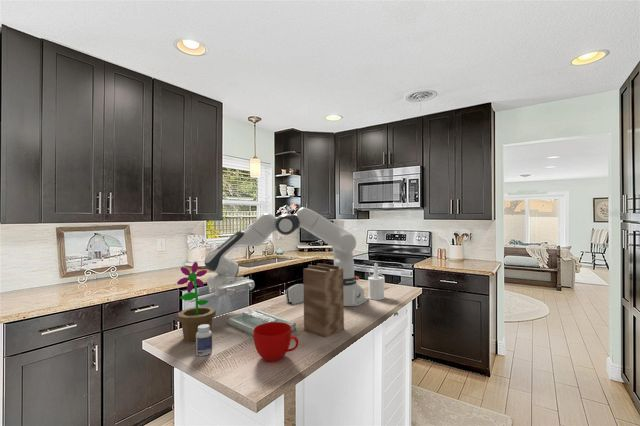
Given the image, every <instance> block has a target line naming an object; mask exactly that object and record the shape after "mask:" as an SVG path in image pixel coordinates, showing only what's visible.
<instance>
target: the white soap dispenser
mask: <svg viewBox="0 0 640 426" xmlns="http://www.w3.org/2000/svg"><path fill="white" fill-rule="evenodd" d="M373 266H374V268H373V267H372V268H370V269H369V271H368V275H370V276H368V277H367V281H368V296H367V297H368V298H369V299H370V300H372V299H373V300H374V301H380V300H381V299H382V300H384V299H385V289H386V285H385V281H386V280H385V278H386V277H385V275H383V274H382V273H379V264H378V263H377V262H375V263H374V265H373ZM371 270H374V271H373V274H370V272H371ZM382 300H381V301H382Z"/></svg>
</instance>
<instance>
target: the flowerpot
mask: <svg viewBox="0 0 640 426" xmlns="http://www.w3.org/2000/svg"><path fill="white" fill-rule="evenodd" d="M198 268H199V264H198V262H197V261H195V262H193V264H192V266H191V269H190V270H191V272H190V270H189V269H188V268H187V267H184V266H182V267H181V268H180V271H181V273H182V274H183V275H185V276H187V277H182V278H180V279H179V280H177V282H176V283H177V285H185V284H187V285H186V290H187V292H186V293H184V294H182V295H181V296H180V297H179V299H181V300H183V301H192V300H194V299H195V307H189V308H186V309H182V310H181V311H179V312H178V313H177V320H178V322H179V323H181V329H182V335H183V340H185V341H184V342H187V341H188V342H187V343H196V333H197V332H198V326H200V325H203V324H208V325H210V331H211V332H212V329H213V328H212V327H213V318H214V317H216V313H217V312H216V309H215V307H212V306H204V305H206V304H208V303H209V300H208V299H199V294H198V293H199V292H198V287H204V281H202V280H201V279H200V278H199V277H204V276H205V275H206V274H207V273H208V271H207V269H201V270H198ZM187 282H188V283H187ZM197 286H198V287H197ZM193 288H194V292H192V291H193Z"/></svg>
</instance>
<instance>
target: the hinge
mask: <svg viewBox="0 0 640 426" xmlns="http://www.w3.org/2000/svg"><path fill="white" fill-rule="evenodd" d="M285 298H286V299H285V300H286V303H291V305H297V304H299V303H304V285H303V283H297V284H294V285H291V286H289V287H288V288H287V289H285Z"/></svg>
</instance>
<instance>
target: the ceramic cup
mask: <svg viewBox="0 0 640 426" xmlns="http://www.w3.org/2000/svg"><path fill="white" fill-rule="evenodd" d="M253 334H254V336H253V341H254V346H255V350H256V351H257V353H258V355H259V357H261V358H262V360H263V361H264V362H269V363H273V362H278V361H280V360H282V359H283V357H284V356H285V355H286V353H289V352H293V351H295V350H296V349H297V348H298V346H299V342H300V341H299V339H298V338H297V336H295V335H292V331H291V326H290V325H288V324H286V323H281V322H270V323H264V324H261V325H259V326H257V327H255V328H254V332H253ZM291 340H294V342H295V344H294V346H293V347H292V348H290V345H291Z"/></svg>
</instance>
